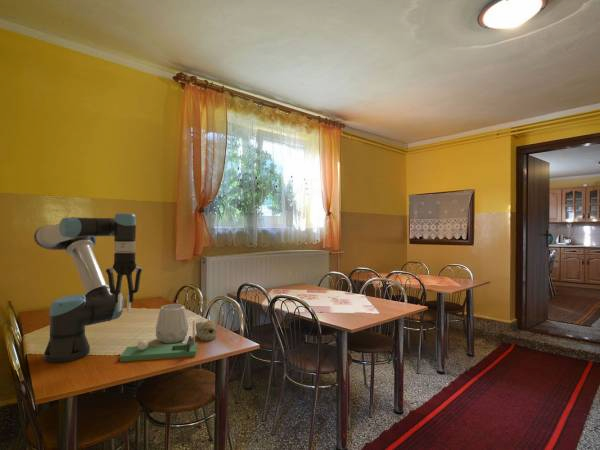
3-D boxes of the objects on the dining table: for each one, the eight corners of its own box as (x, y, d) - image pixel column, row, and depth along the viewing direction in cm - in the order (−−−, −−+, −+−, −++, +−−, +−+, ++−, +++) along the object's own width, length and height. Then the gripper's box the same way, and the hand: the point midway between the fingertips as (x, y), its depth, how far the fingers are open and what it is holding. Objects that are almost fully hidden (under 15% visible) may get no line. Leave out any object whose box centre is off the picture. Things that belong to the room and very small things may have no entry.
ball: (136, 352, 134) (136, 342, 134) (138, 348, 138) (138, 338, 138) (146, 351, 135) (146, 341, 135) (148, 348, 139) (149, 338, 139)
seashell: (214, 340, 153) (205, 320, 153) (197, 348, 155) (187, 328, 155) (223, 331, 163) (214, 313, 163) (206, 339, 165) (197, 321, 165)
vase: (168, 347, 146) (169, 312, 145) (148, 340, 153) (149, 307, 153) (194, 338, 157) (195, 305, 157) (175, 332, 165) (175, 301, 165)
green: (120, 361, 130) (120, 330, 130) (127, 351, 140) (127, 322, 140) (195, 356, 136) (195, 326, 136) (197, 347, 146) (197, 319, 146)
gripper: (100, 252, 129) (99, 313, 129) (143, 252, 133) (143, 312, 133) (106, 251, 137) (105, 308, 137) (148, 251, 140) (147, 307, 140)
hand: (124, 310), depth 135 cm, fingers open, 3 cm apart
